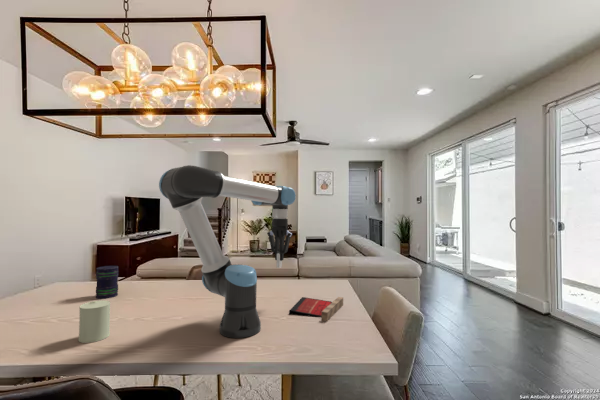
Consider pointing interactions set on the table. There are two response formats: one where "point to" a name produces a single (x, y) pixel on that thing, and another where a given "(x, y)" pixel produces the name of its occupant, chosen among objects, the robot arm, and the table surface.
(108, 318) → the can
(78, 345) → the table surface
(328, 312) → the rail
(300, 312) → the binder
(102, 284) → the storage jar
